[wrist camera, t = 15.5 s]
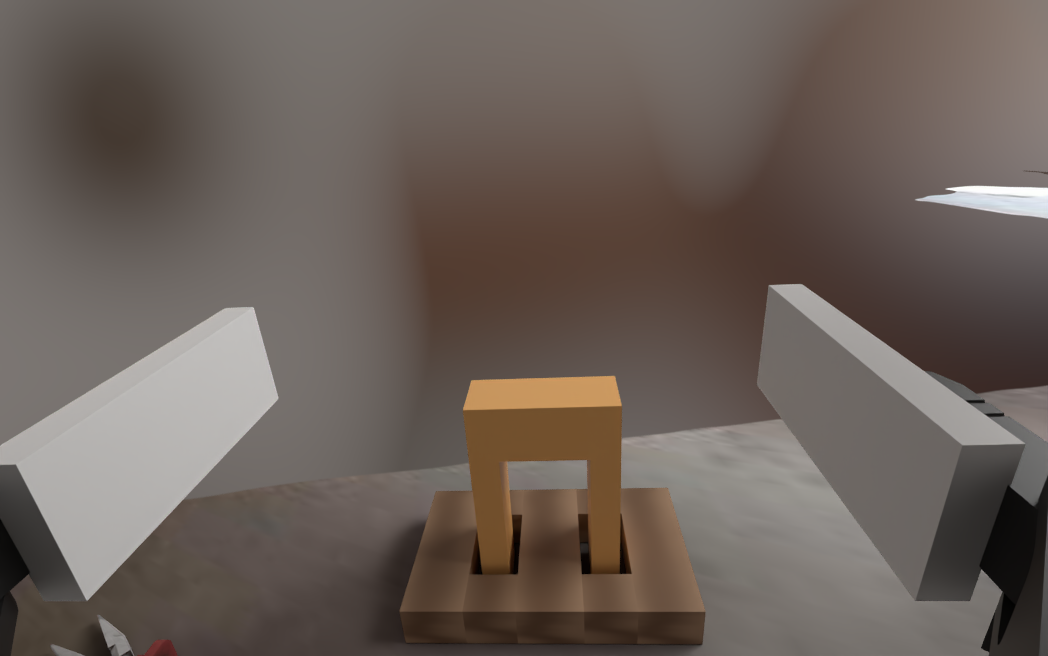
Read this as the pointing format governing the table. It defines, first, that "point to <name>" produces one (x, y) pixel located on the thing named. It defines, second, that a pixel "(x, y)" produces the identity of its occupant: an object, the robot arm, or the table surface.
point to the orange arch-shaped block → (544, 456)
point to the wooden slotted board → (553, 576)
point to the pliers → (121, 644)
